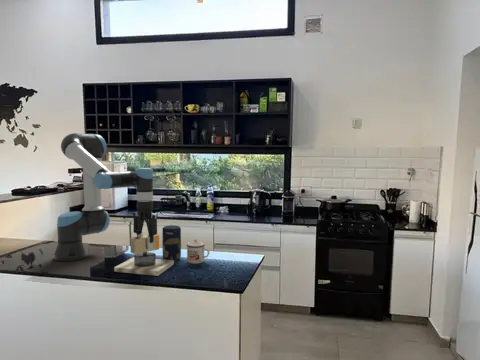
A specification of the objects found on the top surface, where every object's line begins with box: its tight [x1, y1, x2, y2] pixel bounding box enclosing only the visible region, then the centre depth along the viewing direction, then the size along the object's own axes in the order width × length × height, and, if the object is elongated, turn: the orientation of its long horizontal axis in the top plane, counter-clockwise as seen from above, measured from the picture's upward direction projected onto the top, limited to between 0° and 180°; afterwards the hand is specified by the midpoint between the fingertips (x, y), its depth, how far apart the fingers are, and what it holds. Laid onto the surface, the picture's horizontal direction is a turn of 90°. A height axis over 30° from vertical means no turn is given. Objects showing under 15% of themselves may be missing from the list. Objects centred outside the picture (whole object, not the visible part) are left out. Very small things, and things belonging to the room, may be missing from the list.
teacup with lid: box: [186, 238, 210, 264], centre depth 194 cm, size 12×9×12 cm
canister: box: [162, 224, 182, 261], centre depth 198 cm, size 10×10×18 cm
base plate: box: [113, 256, 175, 277], centre depth 182 cm, size 22×18×2 cm
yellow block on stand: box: [130, 233, 160, 266], centre depth 182 cm, size 13×10×13 cm
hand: (145, 248), depth 182 cm, fingers closed on yellow block on stand, 5 cm apart
